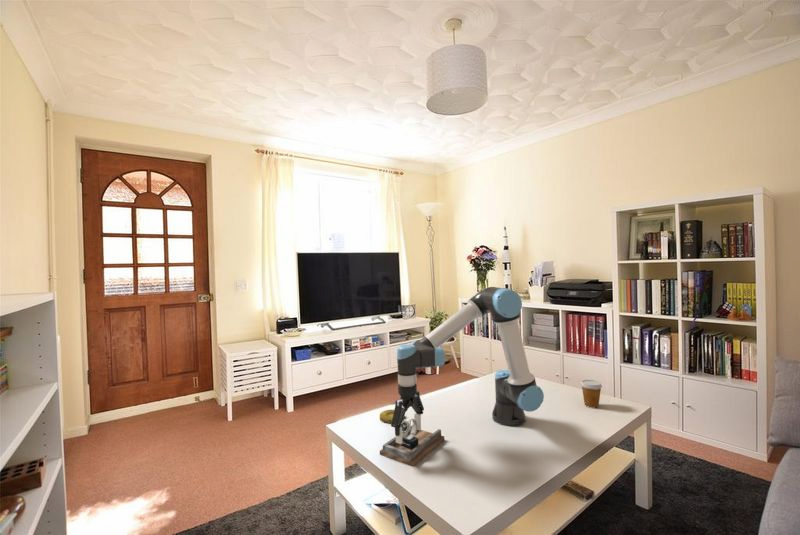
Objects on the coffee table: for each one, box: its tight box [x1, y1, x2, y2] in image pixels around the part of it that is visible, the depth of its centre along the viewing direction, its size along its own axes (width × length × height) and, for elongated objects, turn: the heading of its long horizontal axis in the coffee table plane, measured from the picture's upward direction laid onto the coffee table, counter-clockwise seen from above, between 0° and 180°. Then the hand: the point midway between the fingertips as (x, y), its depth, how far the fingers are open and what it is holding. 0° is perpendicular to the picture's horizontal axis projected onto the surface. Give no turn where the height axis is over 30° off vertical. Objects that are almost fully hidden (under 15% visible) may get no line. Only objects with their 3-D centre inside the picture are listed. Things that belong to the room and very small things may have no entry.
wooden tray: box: [379, 425, 445, 467], centre depth 154 cm, size 16×24×4 cm, turn 145°
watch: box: [401, 417, 418, 450], centre depth 152 cm, size 6×8×11 cm
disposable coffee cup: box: [580, 379, 603, 408], centre depth 191 cm, size 10×10×12 cm
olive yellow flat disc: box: [379, 409, 405, 424], centre depth 183 cm, size 12×12×2 cm
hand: (408, 436), depth 152 cm, fingers open, 13 cm apart
